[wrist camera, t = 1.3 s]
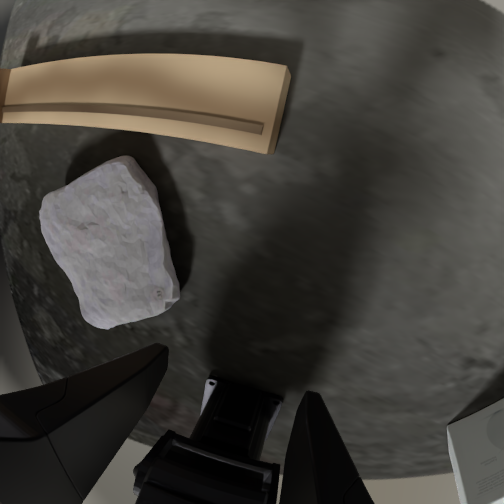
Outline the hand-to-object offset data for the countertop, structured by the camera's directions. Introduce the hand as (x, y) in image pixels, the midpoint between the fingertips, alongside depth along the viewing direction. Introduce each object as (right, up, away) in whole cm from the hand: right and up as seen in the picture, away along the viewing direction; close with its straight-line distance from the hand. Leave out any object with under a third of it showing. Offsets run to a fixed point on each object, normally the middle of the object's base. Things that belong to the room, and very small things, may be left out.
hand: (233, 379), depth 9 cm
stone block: (-9, +5, +14) cm, 17 cm away
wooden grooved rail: (-10, +15, +10) cm, 21 cm away
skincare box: (+25, -13, +12) cm, 30 cm away
